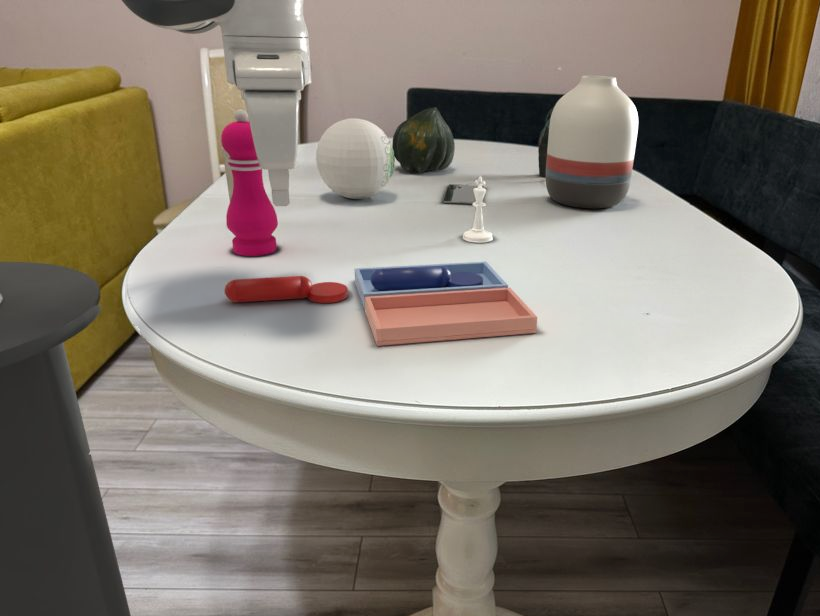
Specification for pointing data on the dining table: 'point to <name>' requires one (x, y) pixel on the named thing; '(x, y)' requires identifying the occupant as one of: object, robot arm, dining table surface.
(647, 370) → the dining table surface
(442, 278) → the blue spoon
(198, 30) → the robot arm
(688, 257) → the dining table surface
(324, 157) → the decorative object
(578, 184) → the vase
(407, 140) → the squash
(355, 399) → the dining table surface
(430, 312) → the red tray
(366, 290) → the blue tray
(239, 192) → the pepper mill
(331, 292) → the red spoon
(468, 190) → the smartphone
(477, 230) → the chess piece
